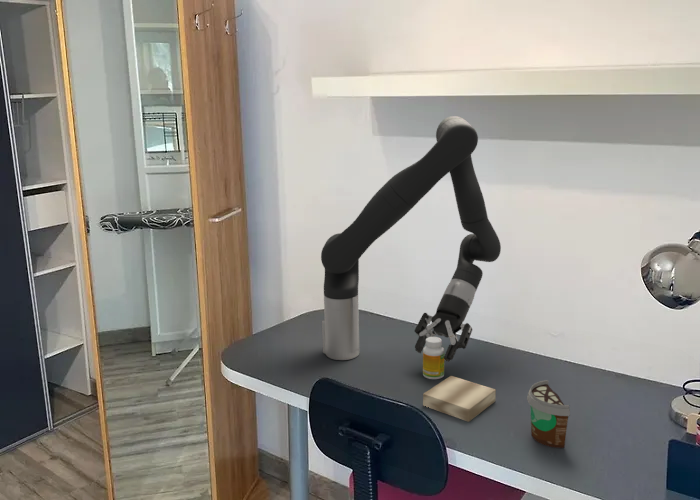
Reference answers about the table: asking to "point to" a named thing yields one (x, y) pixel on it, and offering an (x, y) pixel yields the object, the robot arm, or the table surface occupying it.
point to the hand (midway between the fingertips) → (431, 355)
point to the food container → (547, 415)
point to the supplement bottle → (433, 358)
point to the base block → (459, 398)
